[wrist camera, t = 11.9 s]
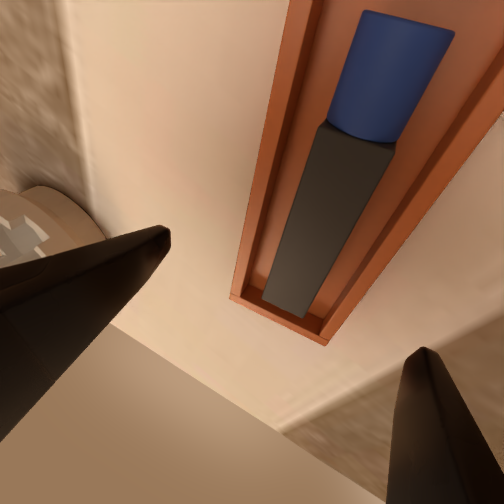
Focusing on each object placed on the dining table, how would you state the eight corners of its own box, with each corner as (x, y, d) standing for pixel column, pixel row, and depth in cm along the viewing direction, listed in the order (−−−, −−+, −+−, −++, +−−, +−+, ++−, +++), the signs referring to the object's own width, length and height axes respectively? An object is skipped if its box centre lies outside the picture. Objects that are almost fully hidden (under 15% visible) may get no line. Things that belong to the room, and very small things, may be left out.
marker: (311, 295, 19) (299, 326, 17) (273, 277, 19) (258, 306, 18) (452, 30, 9) (463, 32, 7) (368, 10, 10) (357, 6, 8)
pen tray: (335, -118, 9) (319, -148, 7) (611, -73, 7) (661, -97, 6) (240, 280, 22) (228, 299, 21) (331, 323, 21) (325, 347, 19)
